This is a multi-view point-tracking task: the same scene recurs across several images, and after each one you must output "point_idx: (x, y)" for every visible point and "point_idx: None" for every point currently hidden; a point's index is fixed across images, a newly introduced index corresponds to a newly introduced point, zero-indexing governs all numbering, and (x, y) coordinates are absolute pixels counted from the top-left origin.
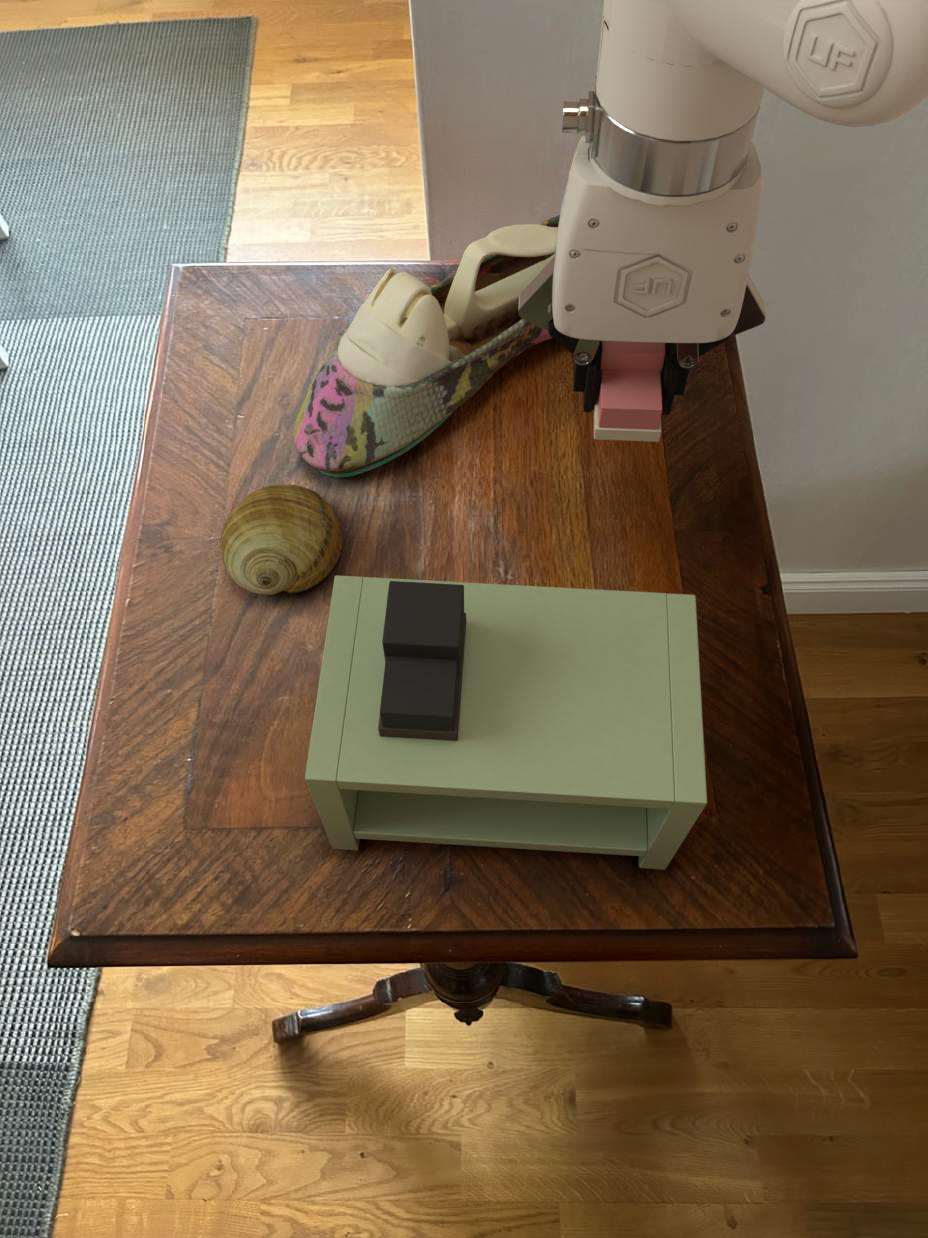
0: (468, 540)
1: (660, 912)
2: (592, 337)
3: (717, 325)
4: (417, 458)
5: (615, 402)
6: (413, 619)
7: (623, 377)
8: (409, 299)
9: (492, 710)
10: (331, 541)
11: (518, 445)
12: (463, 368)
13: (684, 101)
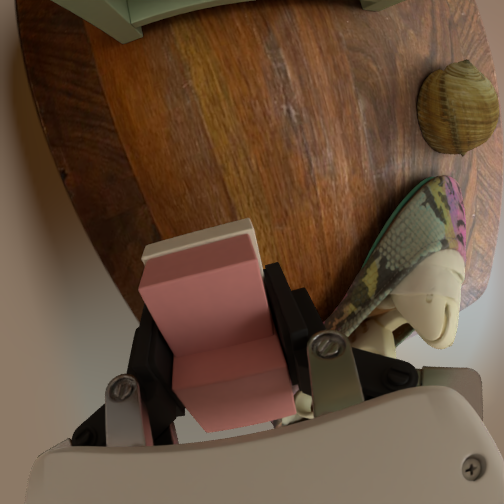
0: (329, 137)
1: None
2: (368, 417)
3: (44, 493)
4: (380, 211)
5: (231, 279)
6: None
7: (231, 332)
8: (447, 328)
9: None
10: (437, 103)
11: (304, 247)
12: (376, 292)
13: None
